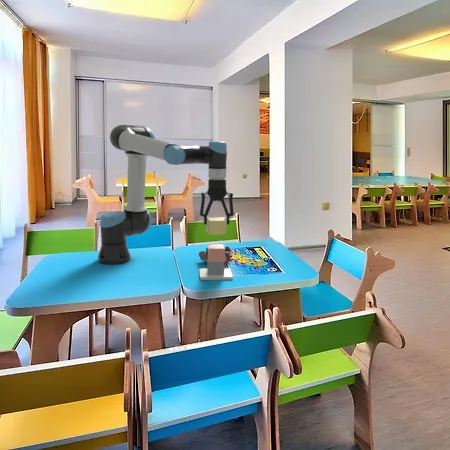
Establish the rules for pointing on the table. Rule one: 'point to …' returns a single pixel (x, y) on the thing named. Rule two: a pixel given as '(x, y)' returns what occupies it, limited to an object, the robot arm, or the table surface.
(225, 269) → the build plate
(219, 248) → the pinkish brown cube
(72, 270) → the table surface
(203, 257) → the figurine character
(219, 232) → the brick mustard
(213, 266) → the grey cube
